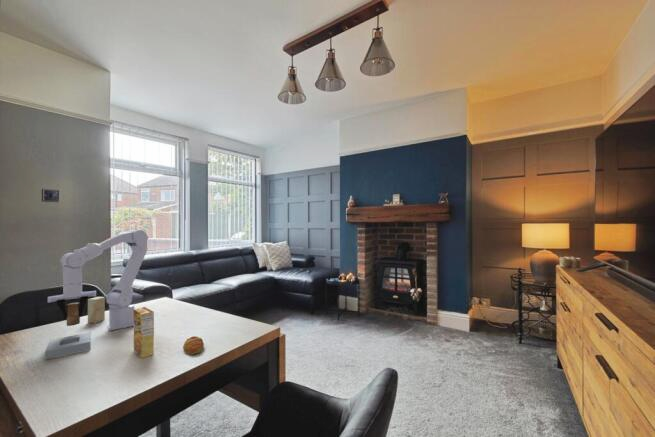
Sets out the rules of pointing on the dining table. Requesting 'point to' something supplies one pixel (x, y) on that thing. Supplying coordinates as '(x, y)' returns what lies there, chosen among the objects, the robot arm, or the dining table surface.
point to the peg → (73, 314)
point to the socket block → (68, 345)
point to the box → (96, 309)
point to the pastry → (193, 345)
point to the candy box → (143, 332)
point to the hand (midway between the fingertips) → (73, 317)
